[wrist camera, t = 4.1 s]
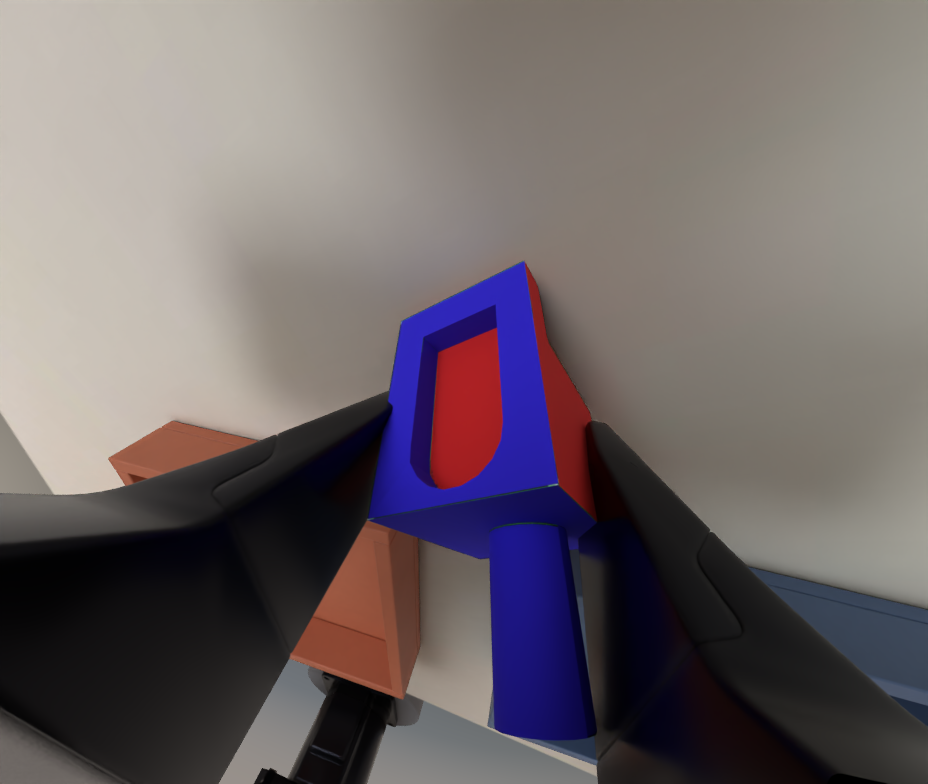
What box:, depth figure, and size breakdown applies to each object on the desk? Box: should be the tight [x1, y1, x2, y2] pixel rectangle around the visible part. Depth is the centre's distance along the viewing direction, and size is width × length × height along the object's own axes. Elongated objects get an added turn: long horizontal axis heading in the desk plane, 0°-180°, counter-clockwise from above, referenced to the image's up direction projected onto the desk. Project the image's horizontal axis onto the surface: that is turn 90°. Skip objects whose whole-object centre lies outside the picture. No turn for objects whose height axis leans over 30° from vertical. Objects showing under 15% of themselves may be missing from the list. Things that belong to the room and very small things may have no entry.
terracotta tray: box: [108, 421, 420, 699], centre depth 16 cm, size 13×11×2 cm
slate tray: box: [488, 549, 928, 766], centre depth 13 cm, size 12×12×2 cm
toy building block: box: [367, 261, 597, 741], centre depth 8 cm, size 4×4×8 cm
